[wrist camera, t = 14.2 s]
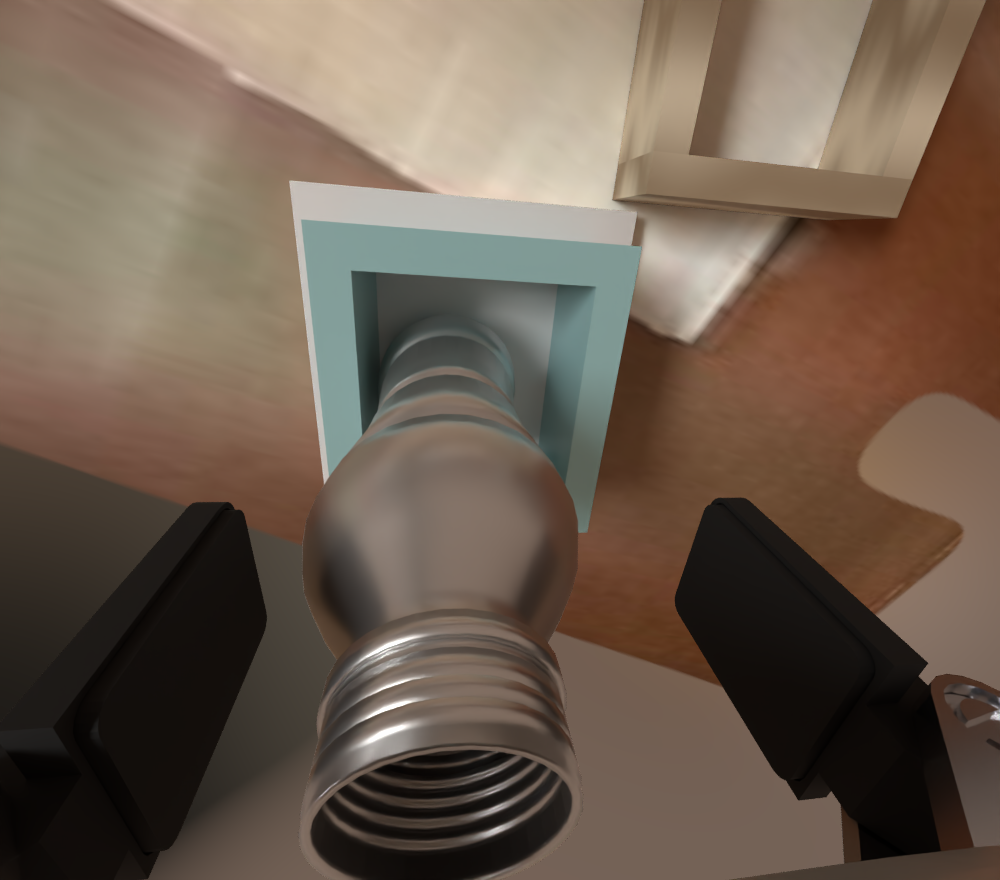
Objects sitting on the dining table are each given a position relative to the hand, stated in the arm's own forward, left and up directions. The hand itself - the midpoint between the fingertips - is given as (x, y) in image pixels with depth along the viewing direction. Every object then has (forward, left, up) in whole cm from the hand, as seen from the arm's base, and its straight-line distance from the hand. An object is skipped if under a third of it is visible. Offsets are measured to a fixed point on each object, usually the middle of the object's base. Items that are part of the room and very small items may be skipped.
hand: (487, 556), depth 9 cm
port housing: (0, 0, -17) cm, 17 cm away
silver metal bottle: (+1, -1, -16) cm, 16 cm away
